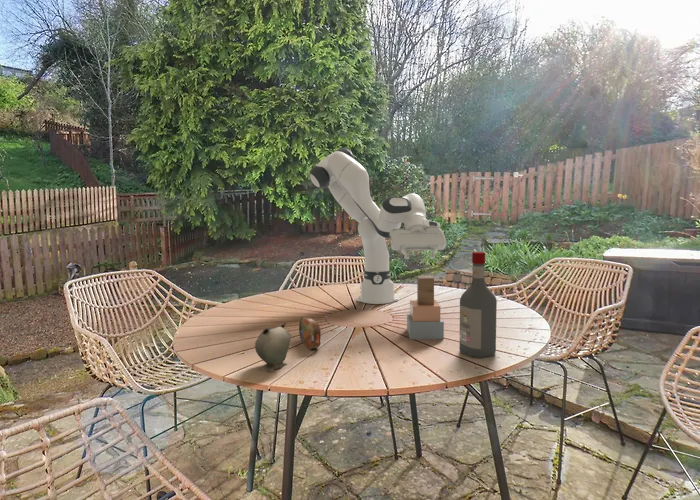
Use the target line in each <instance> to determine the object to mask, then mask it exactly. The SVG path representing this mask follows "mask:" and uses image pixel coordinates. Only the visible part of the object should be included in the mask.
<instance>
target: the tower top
mask: <svg viewBox="0 0 700 500" xmlns="http://www.w3.org/2000/svg"><path fill="white" fill-rule="evenodd" d="M409 314H410V316H411V318H412V321H413V322H420V321H440V317H441V305H440V304H439V302H438V301H437V300H436V299H434V305H419V304H418V302H417V299H416V300H415V299H414V300H413V299H412V300H411V299H409Z"/></svg>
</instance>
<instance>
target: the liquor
mask: <svg viewBox="0 0 700 500" xmlns="http://www.w3.org/2000/svg"><path fill="white" fill-rule="evenodd" d="M471 253H472V255H471V261H472V262H471V263H472V274H471V275H472V279H471V282H470V283H471V284H470V286H469V287H468V288H467V289H466V290H465V291H464V292H463V293H462V294H461V296H460V298H459V351H460V352H461V353H462V354H464V355H466V356H468V357H470V358H474V359H475V358H476V359H484V358H488V357H494V355H495V354H496V350H497V304H498V301H497V300H498V299H497V297H496V295H495V294H494V293H493V292H492V290H491V289H490V288H489V287H488V286H487V283H486V281H485V280H486V277H485V276H486V275H485V271H486V270H485V269H486V268H485V264H486V252H485V251H473V252H471Z"/></svg>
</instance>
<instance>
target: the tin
mask: <svg viewBox="0 0 700 500" xmlns="http://www.w3.org/2000/svg"><path fill="white" fill-rule="evenodd" d="M298 325H299V326H298V328H299V329H298V330H299V331H298V332H299V339H300V341H301V343H302V344H303V345H304V346H305V347H306V348H307V349H308V350H314V349H318V348H319V347H320V345H321V333H322V331H321V327H320V325H319V323H318V322H316V321H315V320H314V319H313V318H311V317H310V316H309V317H308V316H307V317H300V320H299V324H298Z"/></svg>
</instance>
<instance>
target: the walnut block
mask: <svg viewBox="0 0 700 500" xmlns="http://www.w3.org/2000/svg"><path fill="white" fill-rule="evenodd" d="M416 279H417V282H416V286H417V287H416V288H417V289H416V290H417V291H416V293H417V294H416V295H417V296H416V297H417V299H416V300H417V302H418V304H419V305H434V300H435V278H434V276H433V275H417V277H416Z"/></svg>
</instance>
